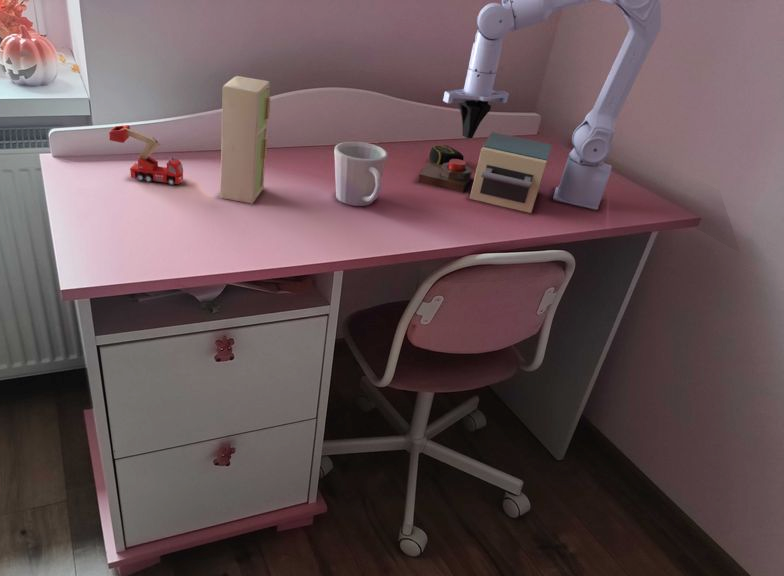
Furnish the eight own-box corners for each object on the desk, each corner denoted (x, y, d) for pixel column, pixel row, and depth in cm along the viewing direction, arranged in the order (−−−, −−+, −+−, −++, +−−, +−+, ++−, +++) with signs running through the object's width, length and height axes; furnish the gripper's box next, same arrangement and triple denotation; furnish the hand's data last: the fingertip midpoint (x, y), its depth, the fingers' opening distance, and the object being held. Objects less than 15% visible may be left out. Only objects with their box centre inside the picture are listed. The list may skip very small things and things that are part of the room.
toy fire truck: (180, 186, 131) (179, 138, 126) (112, 177, 132) (108, 128, 126) (185, 180, 134) (184, 132, 129) (118, 171, 134) (114, 123, 129)
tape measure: (462, 168, 156) (466, 153, 154) (439, 171, 153) (442, 155, 151) (445, 158, 161) (448, 143, 159) (422, 160, 158) (425, 145, 156)
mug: (367, 187, 141) (374, 140, 135) (398, 217, 130) (407, 167, 124) (321, 189, 137) (326, 141, 132) (349, 221, 126) (356, 170, 121)
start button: (465, 168, 147) (467, 161, 146) (462, 174, 145) (464, 166, 144) (449, 165, 148) (451, 157, 147) (446, 170, 145) (448, 162, 144)
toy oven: (531, 210, 140) (547, 159, 133) (470, 196, 143) (483, 145, 136) (537, 193, 148) (552, 144, 142) (479, 180, 151) (491, 131, 145)
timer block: (471, 180, 151) (474, 164, 149) (463, 193, 144) (467, 177, 142) (427, 170, 153) (430, 155, 151) (417, 182, 146) (420, 167, 144)
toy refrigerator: (256, 205, 128) (262, 91, 116) (219, 198, 129) (221, 85, 117) (267, 190, 134) (273, 81, 122) (232, 183, 135) (235, 75, 123)
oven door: (529, 219, 135) (544, 168, 129) (466, 204, 138) (478, 153, 132) (531, 210, 139) (547, 160, 133) (470, 196, 142) (482, 146, 136)
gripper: (462, 75, 130) (447, 144, 138) (523, 75, 135) (506, 141, 143) (443, 65, 135) (431, 132, 143) (503, 66, 140) (487, 131, 148)
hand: (467, 136), depth 143 cm, fingers closed
